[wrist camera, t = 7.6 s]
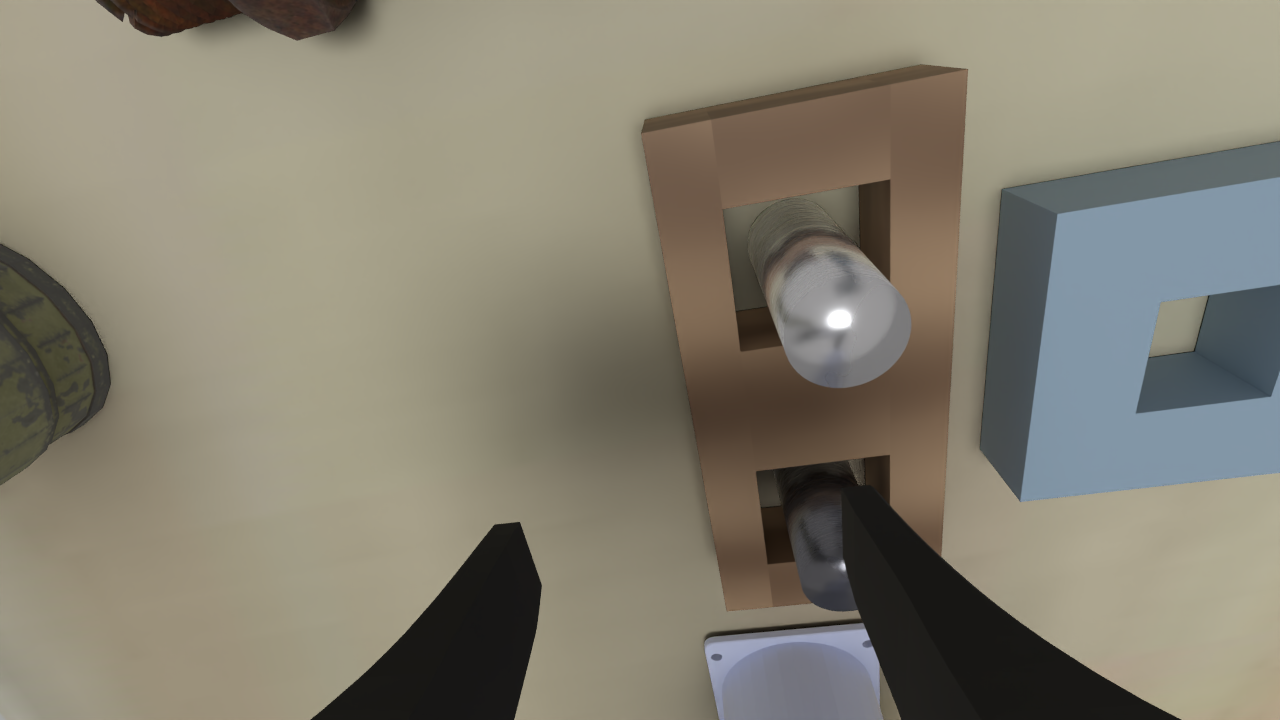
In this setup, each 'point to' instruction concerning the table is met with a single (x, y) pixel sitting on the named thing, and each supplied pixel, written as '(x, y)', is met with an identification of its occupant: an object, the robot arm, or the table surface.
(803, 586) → the black pin
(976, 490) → the table surface
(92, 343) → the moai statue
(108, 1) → the bolt
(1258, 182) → the socket block
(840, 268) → the steel pin
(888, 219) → the rack
